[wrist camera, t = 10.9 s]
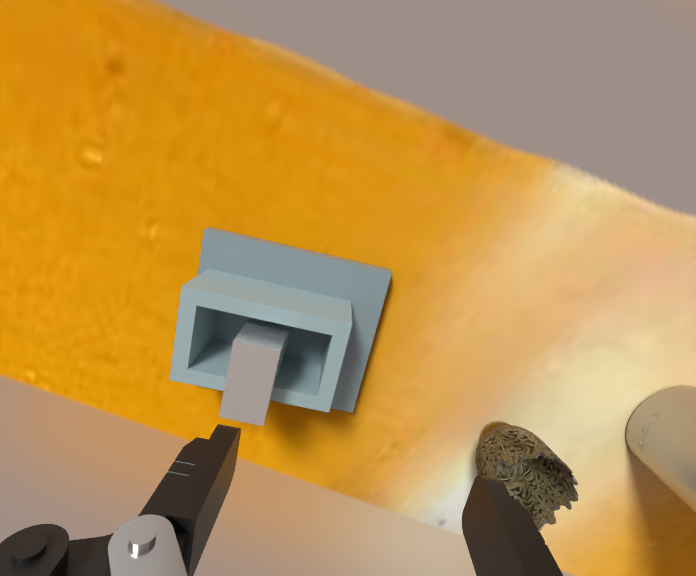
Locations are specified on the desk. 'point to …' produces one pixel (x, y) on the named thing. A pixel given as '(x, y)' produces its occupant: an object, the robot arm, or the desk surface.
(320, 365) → the well board
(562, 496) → the cup
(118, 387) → the desk surface
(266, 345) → the grey painted wood block
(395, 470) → the desk surface
